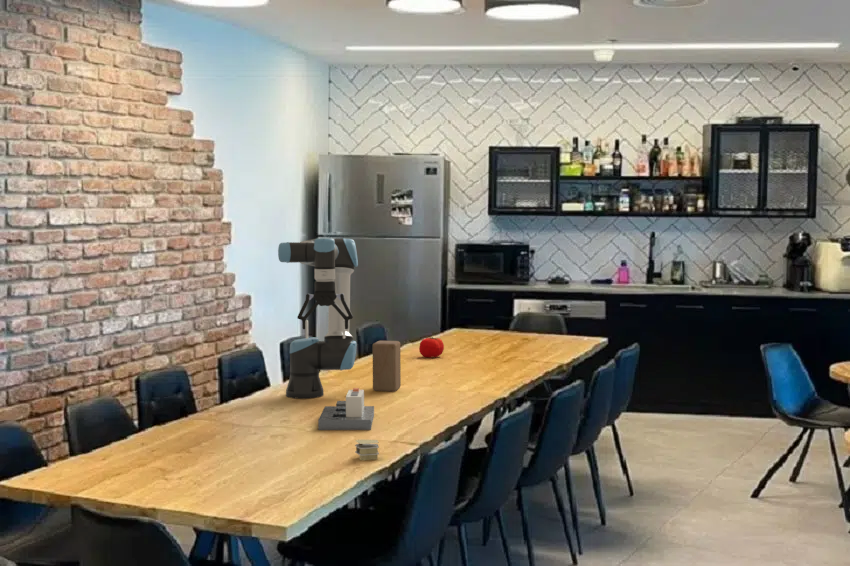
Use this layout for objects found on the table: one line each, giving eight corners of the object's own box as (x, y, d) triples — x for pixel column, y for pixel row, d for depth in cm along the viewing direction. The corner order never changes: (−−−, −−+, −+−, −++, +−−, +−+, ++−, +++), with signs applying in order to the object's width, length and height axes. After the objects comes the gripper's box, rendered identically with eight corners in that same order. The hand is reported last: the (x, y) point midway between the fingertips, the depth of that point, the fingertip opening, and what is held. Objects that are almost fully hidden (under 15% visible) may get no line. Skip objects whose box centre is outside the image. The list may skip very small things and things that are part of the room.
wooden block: (395, 392, 430) (395, 343, 428) (372, 391, 432) (371, 343, 430) (401, 387, 439) (400, 340, 438) (378, 387, 441) (377, 340, 440)
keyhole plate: (318, 430, 358) (318, 419, 358) (325, 415, 382) (324, 406, 382) (370, 429, 358) (370, 419, 358) (374, 415, 382) (374, 406, 382)
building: (381, 455, 324) (381, 437, 324) (384, 462, 315) (384, 444, 315) (349, 456, 323) (349, 438, 322) (351, 463, 314) (351, 445, 314)
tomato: (416, 356, 529) (416, 336, 528) (440, 355, 533) (440, 335, 532) (423, 359, 518) (422, 339, 517) (447, 358, 522) (447, 337, 521)
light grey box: (346, 425, 363) (345, 394, 363) (349, 417, 377) (348, 387, 377) (361, 425, 363) (361, 394, 363) (364, 417, 377) (363, 387, 377)
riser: (336, 412, 388) (336, 403, 388) (337, 409, 394) (337, 400, 394) (349, 412, 388) (349, 403, 388) (350, 409, 394) (350, 400, 394)
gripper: (289, 281, 376) (290, 339, 378) (358, 281, 377) (359, 339, 378) (291, 279, 384) (292, 336, 386) (359, 279, 384) (360, 336, 386)
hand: (325, 338), depth 382 cm, fingers open, 13 cm apart
